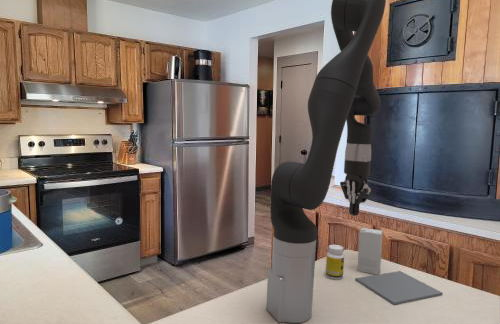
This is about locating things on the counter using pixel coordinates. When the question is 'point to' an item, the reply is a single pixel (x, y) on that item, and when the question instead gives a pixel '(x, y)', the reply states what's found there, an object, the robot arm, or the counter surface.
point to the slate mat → (398, 287)
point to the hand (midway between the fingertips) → (353, 214)
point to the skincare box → (370, 250)
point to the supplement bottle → (335, 262)
